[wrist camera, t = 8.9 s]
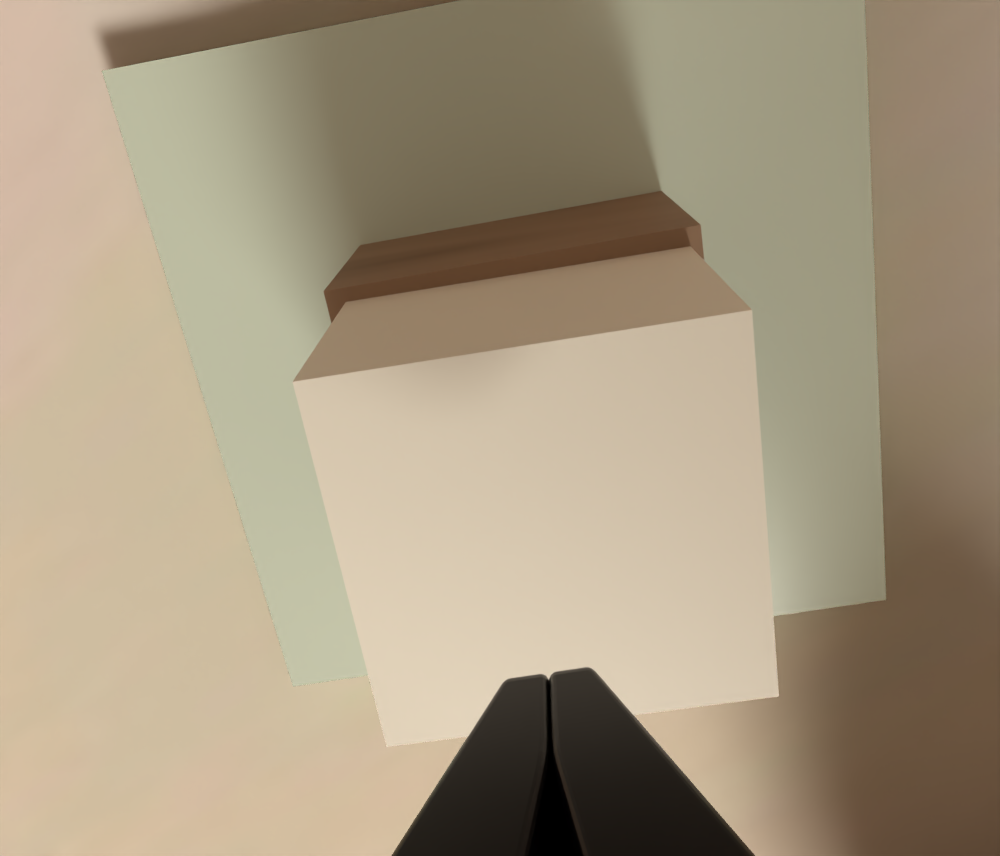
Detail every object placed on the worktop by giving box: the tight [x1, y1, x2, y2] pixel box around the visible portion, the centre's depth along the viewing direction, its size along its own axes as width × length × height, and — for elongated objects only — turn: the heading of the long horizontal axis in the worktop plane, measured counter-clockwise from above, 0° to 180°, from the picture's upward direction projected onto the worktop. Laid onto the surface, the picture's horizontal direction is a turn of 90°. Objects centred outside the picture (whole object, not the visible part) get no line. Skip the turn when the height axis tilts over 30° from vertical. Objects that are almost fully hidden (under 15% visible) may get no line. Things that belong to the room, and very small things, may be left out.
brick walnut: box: [323, 191, 704, 323], centre depth 18 cm, size 6×6×4 cm
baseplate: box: [102, 0, 886, 687], centre depth 20 cm, size 14×14×1 cm
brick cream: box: [293, 246, 779, 747], centre depth 14 cm, size 6×6×4 cm
